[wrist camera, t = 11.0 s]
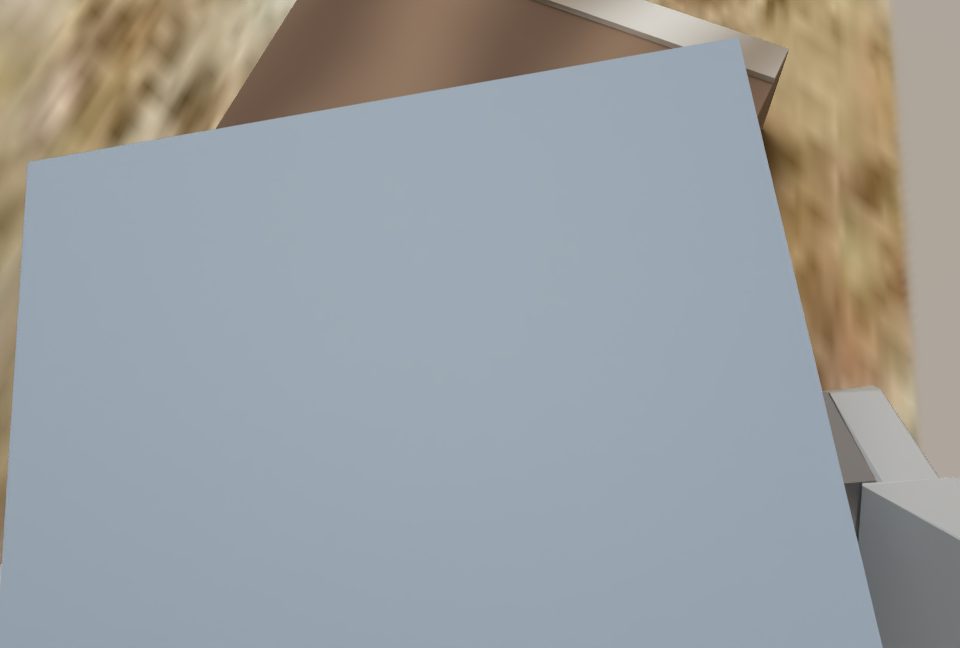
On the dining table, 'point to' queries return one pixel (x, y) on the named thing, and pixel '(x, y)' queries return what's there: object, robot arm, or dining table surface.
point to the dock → (463, 49)
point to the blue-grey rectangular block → (429, 381)
